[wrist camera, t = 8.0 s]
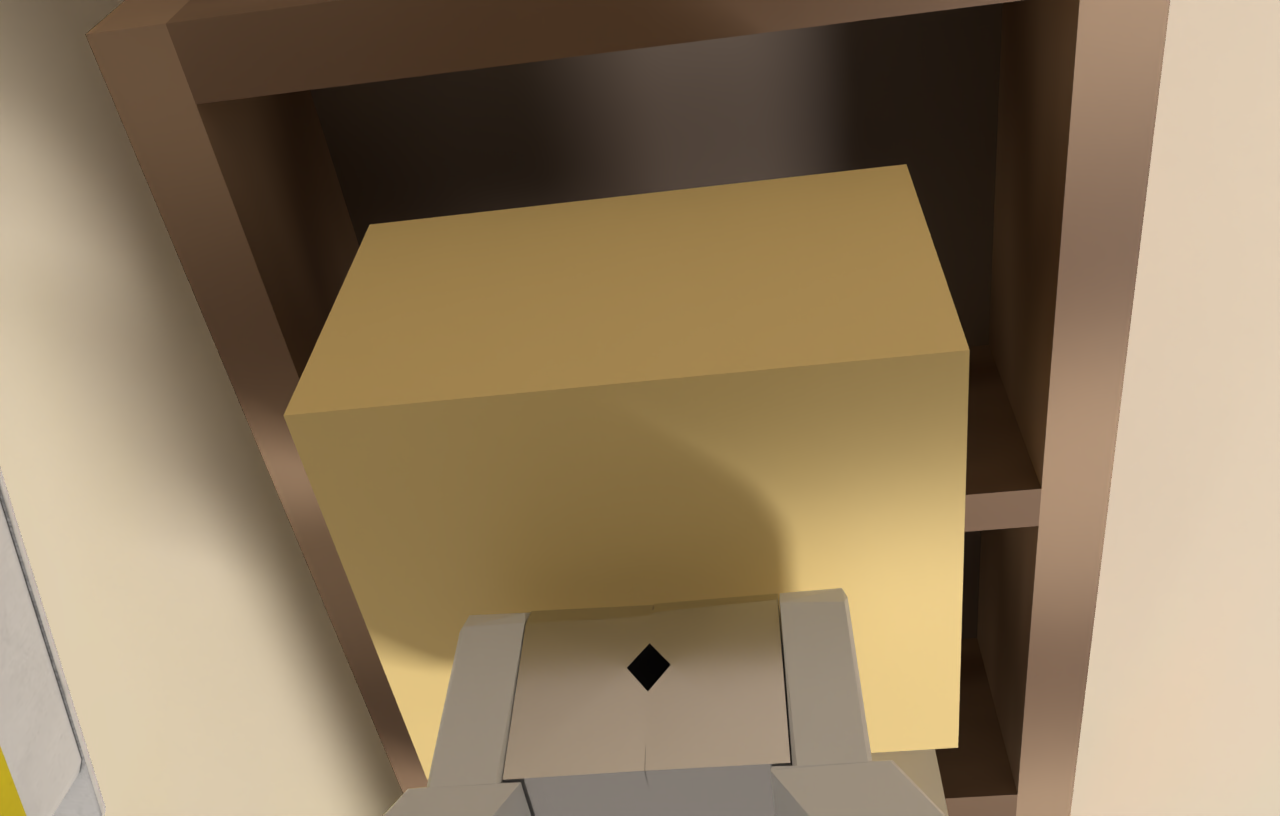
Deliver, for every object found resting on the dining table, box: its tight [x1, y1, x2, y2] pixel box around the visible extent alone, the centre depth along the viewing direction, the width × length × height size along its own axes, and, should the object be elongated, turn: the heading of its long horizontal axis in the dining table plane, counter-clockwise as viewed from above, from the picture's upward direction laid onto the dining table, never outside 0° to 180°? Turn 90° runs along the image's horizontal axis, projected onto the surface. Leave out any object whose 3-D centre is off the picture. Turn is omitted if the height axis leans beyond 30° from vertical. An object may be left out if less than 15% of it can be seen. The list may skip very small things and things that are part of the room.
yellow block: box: [283, 164, 970, 780], centre depth 11 cm, size 4×5×4 cm
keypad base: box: [85, 0, 1170, 816], centre depth 18 cm, size 20×10×3 cm, turn 8°
